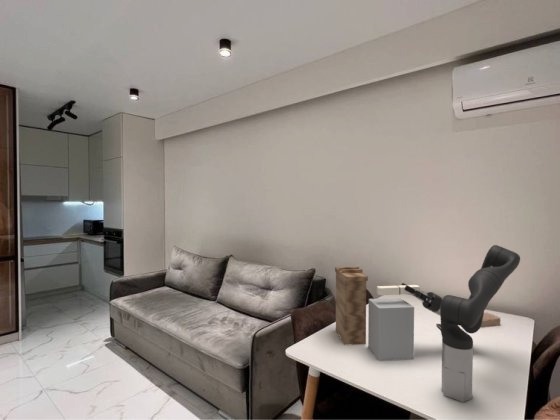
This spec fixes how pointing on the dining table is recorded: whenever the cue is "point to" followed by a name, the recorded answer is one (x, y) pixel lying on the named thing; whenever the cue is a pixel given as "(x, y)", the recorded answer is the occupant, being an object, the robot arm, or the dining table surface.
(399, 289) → the domino bar
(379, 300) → the grey step block
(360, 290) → the walnut shelf
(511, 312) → the dining table surface
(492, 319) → the brick
